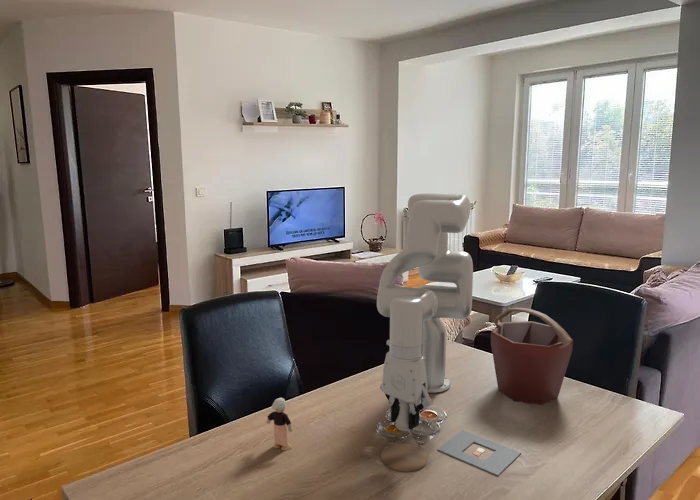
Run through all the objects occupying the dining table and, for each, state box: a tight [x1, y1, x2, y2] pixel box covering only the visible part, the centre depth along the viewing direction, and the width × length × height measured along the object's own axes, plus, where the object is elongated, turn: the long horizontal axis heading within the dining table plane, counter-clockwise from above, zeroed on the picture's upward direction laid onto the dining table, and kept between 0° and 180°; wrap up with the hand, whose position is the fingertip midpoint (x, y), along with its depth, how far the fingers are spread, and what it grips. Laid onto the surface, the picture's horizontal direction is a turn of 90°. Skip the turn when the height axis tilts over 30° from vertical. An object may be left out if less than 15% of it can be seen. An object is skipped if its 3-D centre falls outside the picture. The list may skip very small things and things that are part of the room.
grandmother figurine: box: [265, 397, 294, 452], centre depth 132 cm, size 8×4×13 cm, turn 71°
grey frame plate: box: [436, 429, 522, 477], centre depth 130 cm, size 16×12×1 cm
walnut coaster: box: [380, 443, 429, 473], centre depth 127 cm, size 11×11×1 cm
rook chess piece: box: [394, 399, 411, 432], centre depth 125 cm, size 4×4×8 cm
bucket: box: [490, 307, 574, 406], centre depth 160 cm, size 24×22×25 cm
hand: (404, 423), depth 126 cm, fingers closed on rook chess piece, 4 cm apart
